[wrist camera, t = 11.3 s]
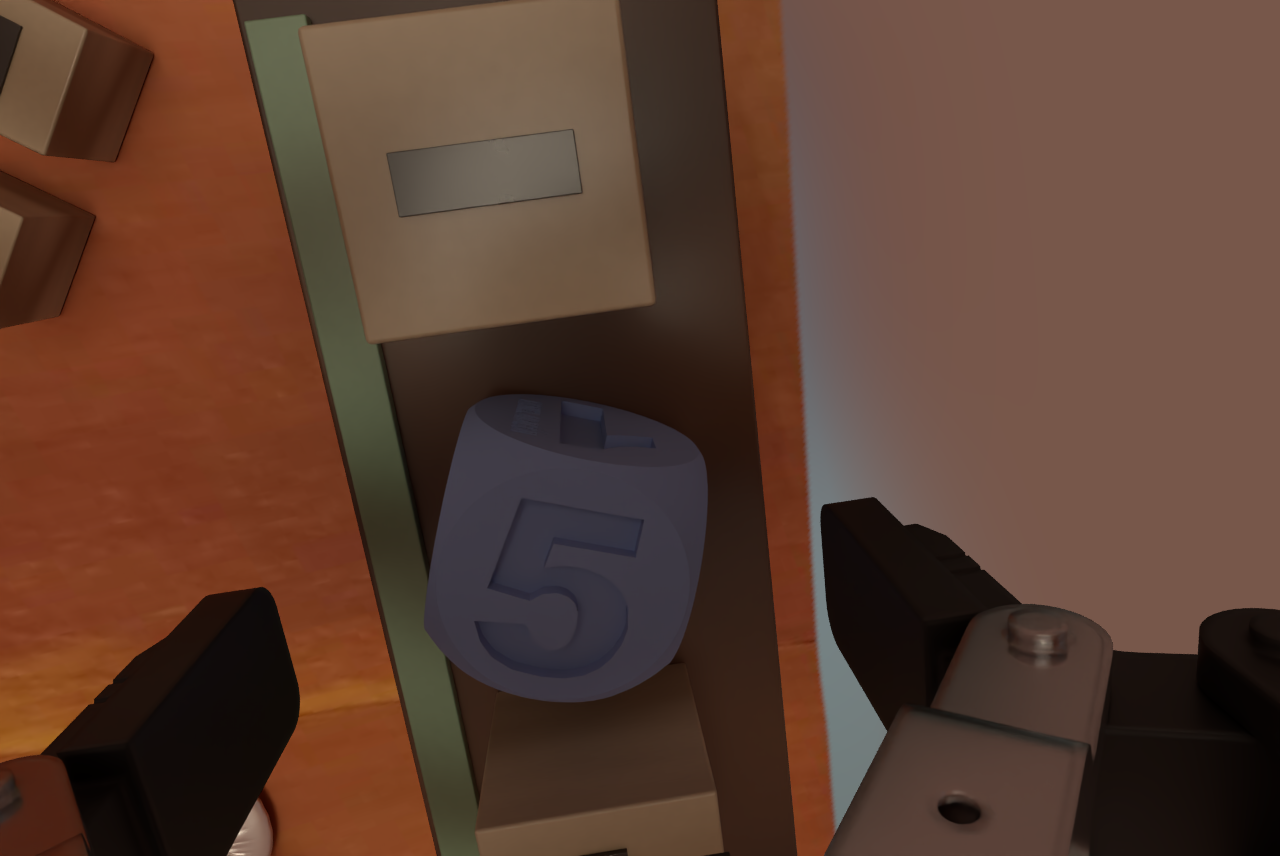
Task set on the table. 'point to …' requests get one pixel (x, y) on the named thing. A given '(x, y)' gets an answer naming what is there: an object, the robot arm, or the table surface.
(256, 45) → the dark brown block
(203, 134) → the table surface
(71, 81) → the beige cubes with bar
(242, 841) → the figurine
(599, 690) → the decorative dice
